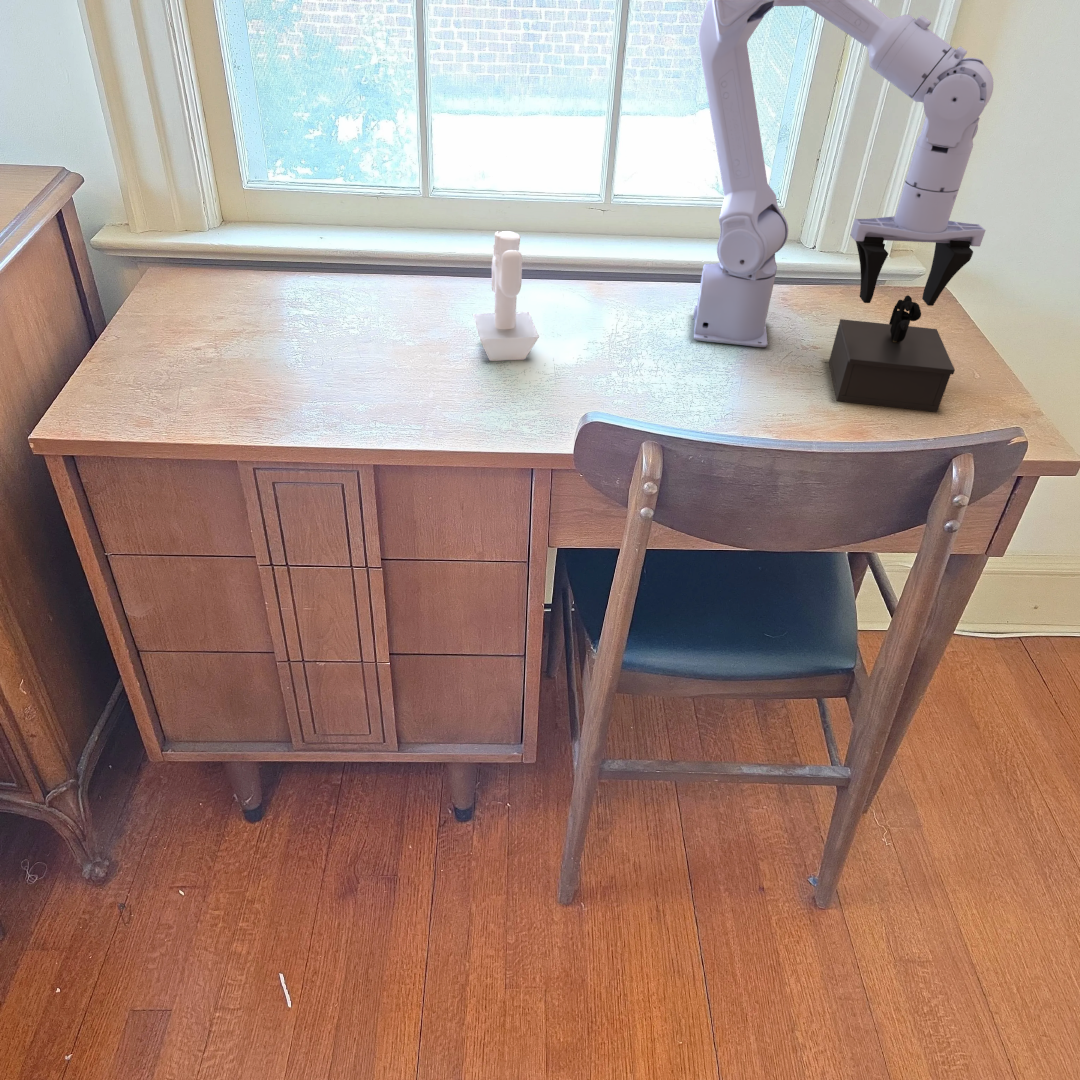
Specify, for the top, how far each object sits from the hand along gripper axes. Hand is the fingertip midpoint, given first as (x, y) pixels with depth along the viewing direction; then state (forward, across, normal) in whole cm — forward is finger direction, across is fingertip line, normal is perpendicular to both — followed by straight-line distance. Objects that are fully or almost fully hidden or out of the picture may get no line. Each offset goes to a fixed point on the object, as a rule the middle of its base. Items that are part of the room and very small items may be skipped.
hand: (896, 301), depth 107 cm
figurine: (+10, +47, -1) cm, 48 cm away
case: (+9, +1, +4) cm, 10 cm away
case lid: (+4, +1, +5) cm, 6 cm away
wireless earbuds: (+3, 0, +4) cm, 5 cm away
